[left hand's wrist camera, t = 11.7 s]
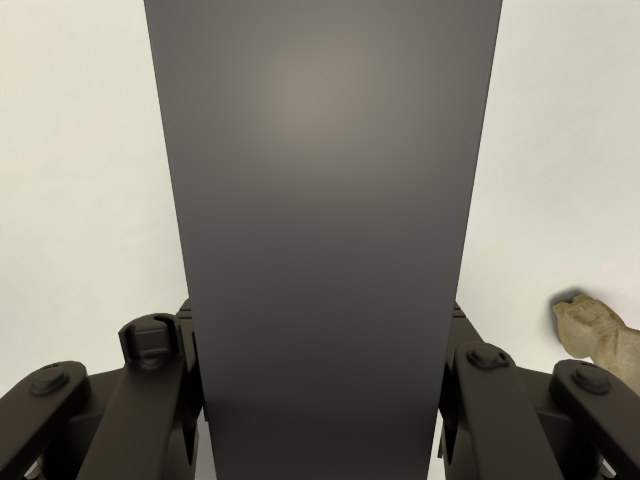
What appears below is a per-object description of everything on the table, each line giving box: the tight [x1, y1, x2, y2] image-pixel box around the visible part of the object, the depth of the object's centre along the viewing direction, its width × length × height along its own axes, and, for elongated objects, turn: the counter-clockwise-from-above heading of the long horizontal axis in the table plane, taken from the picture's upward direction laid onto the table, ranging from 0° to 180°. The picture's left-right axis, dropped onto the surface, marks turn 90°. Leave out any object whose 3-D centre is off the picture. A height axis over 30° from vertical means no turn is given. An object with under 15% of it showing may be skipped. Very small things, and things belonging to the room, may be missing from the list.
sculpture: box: [553, 294, 640, 397], centre depth 31 cm, size 6×7×15 cm
